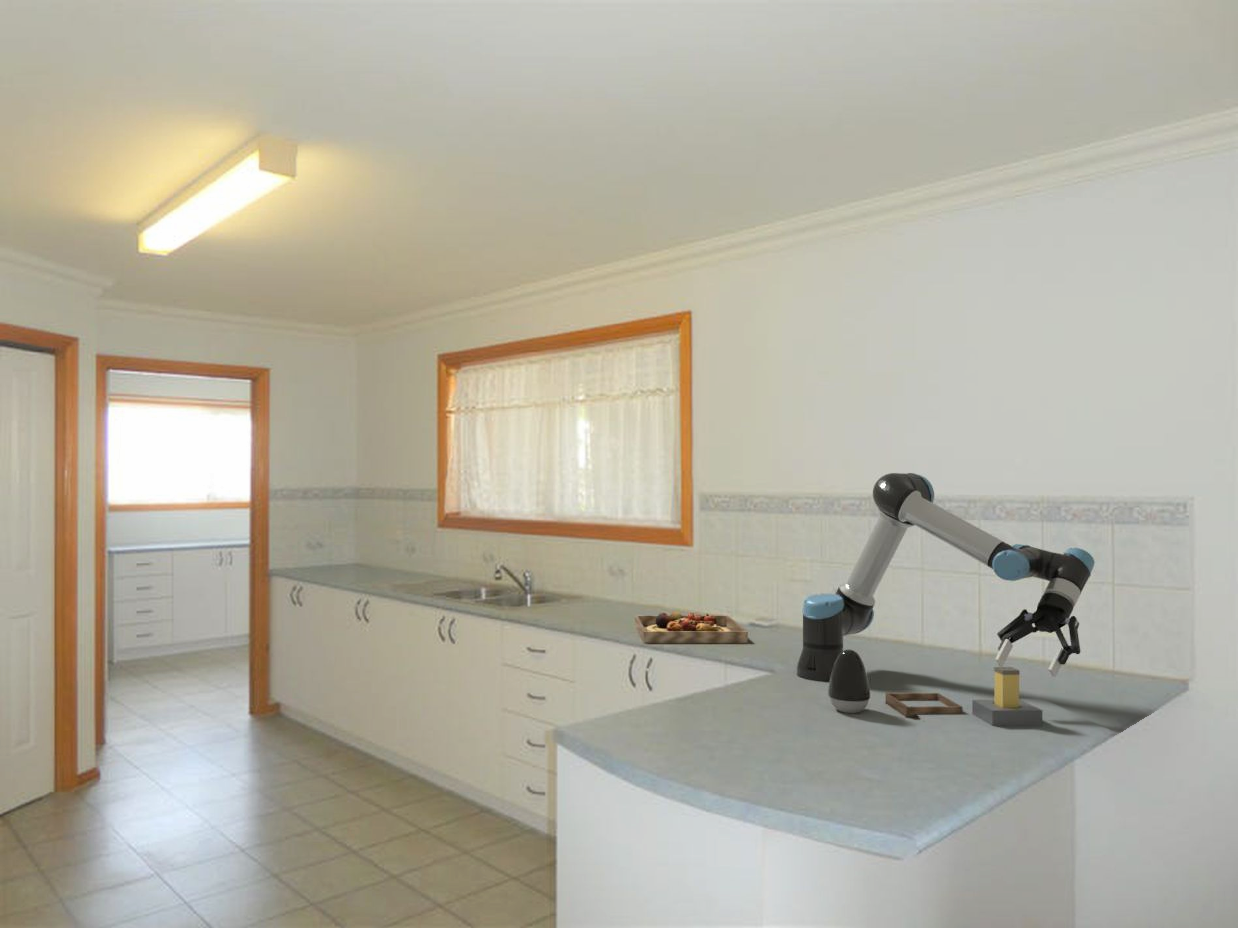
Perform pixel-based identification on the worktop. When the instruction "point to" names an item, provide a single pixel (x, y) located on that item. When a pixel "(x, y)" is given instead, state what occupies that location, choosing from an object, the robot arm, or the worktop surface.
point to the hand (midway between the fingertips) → (1024, 667)
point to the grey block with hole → (1007, 714)
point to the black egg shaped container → (849, 683)
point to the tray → (911, 712)
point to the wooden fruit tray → (691, 632)
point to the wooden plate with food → (685, 623)
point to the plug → (1006, 687)
